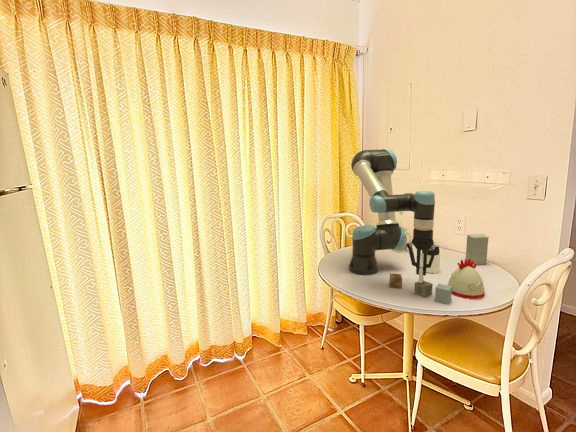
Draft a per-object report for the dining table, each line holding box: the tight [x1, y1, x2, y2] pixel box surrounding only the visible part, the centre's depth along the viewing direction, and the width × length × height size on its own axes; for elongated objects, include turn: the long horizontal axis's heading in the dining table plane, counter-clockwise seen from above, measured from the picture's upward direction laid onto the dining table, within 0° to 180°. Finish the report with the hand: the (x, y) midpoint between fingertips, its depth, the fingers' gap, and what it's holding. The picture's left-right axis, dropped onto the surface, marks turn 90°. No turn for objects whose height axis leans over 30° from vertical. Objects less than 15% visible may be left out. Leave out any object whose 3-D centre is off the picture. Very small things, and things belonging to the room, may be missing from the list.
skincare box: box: [465, 233, 489, 266], centre depth 163 cm, size 8×7×16 cm
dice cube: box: [413, 280, 433, 298], centre depth 130 cm, size 5×5×5 cm
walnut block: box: [389, 273, 403, 289], centre depth 139 cm, size 5×5×5 cm
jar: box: [420, 246, 441, 274], centre depth 155 cm, size 9×8×12 cm
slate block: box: [434, 283, 453, 305], centre depth 123 cm, size 5×5×6 cm
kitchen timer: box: [447, 258, 485, 300], centre depth 129 cm, size 14×14×15 cm
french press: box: [391, 211, 412, 254], centre depth 189 cm, size 10×12×25 cm
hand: (420, 281), depth 130 cm, fingers closed
